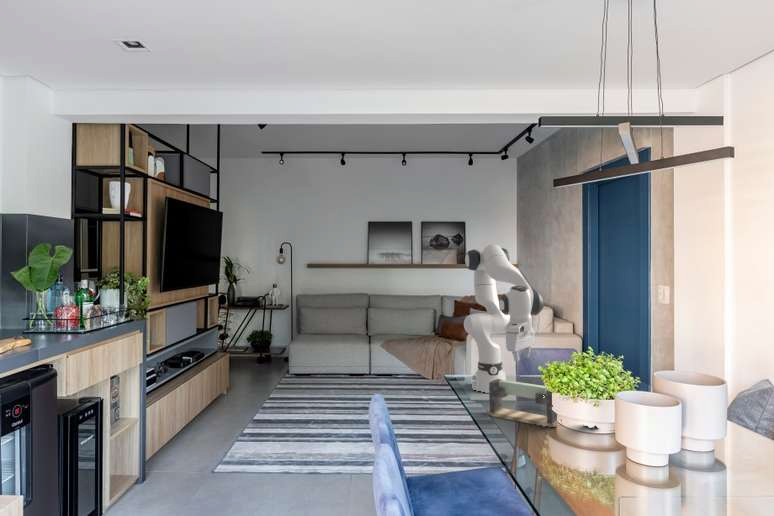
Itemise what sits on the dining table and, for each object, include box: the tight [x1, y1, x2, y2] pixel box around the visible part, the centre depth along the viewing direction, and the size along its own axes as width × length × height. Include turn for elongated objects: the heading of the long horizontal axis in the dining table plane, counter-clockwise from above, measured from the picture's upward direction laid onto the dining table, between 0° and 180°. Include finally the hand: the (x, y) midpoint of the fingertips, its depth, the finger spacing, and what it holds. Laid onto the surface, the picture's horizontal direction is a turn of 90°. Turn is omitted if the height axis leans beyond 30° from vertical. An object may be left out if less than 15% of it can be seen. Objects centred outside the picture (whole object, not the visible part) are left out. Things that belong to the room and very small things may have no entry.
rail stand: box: [487, 379, 557, 428], centre depth 206 cm, size 29×8×14 cm, turn 50°
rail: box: [499, 379, 549, 400], centre depth 205 cm, size 20×3×5 cm, turn 50°
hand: (521, 359), depth 206 cm, fingers open, 8 cm apart
